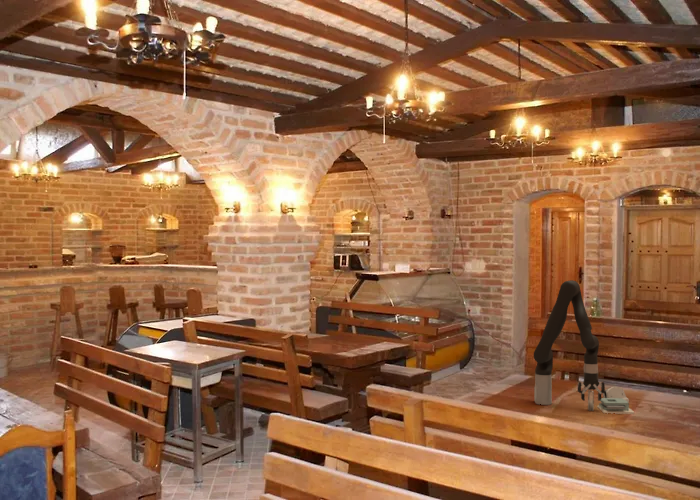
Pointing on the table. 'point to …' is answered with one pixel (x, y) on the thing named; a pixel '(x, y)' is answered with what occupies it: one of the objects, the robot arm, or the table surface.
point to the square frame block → (614, 406)
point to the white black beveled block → (615, 393)
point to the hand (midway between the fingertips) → (591, 400)
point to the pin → (590, 400)
